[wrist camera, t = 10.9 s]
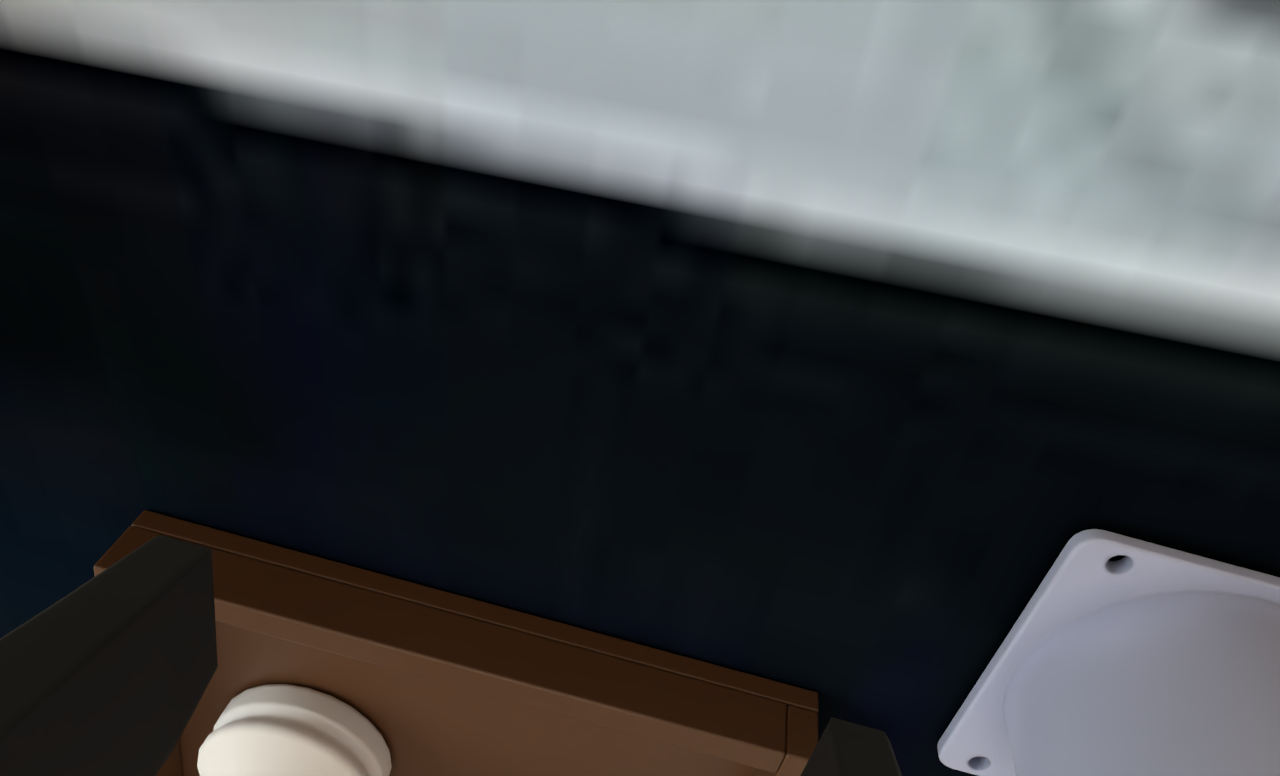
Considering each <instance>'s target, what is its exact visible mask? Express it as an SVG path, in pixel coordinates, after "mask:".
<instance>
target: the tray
mask: <svg viewBox="0 0 1280 776" xmlns="http://www.w3.org/2000/svg"><path fill="white" fill-rule="evenodd" d="M158 535H162V536H166V537H170V538H173V539H177V540H181V541H185V542H188V543H192V544H196V545H199V546H203V547H207V548H210V549H212V565H213V585H214V604H215V623H216V643H217V662H218V667H217V669H216V671H215V673H214V675H213V676H212V678H211V680H210V682H209V684H208V686H207V688H206V690H205V692H204V694H203V696H202V698H201V699H200V701H199V703H198V705H197V707H196V709H195V711H194V713H193V715H192V716H191V718H190V720H189V722H188V724H187V725H186V727H185V729H184V731H183V733H182V734H181V736H180V738H179V740H178V742H177V743H176V745H175V747H174V749H173V751H172V752H171V754H170V755H169V757H168V758H167V760H166V761H165V762H164V764H163V765H162V767H161V768H160V770H159V771H158V773H157V774H156V776H200V774H199V771H198V768H197V762H198V753H199V749H200V747H201V745H202V744H203V742H204V741H205V739H206V738H207V737H208V735H209V734H210V733H212V732H213V729H214V725H215V724H216V722H217V720H218V719H219V717H220V716H221V714H222V713H223V711H224V710H225V708H226V707H227V705H228V704H229V702H230V701H231V699H232V698H234V697H236V696H237V695H239V694H240V693H242V692H243V691H245V690H247V689H250V688H254V687H258V686H262V685H266V684H289V685H295V686H301V687H306V688H311V689H314V690H316V691H319V692H322V693H325V694H328V695H331V696H333V697H335V698H337V699H338V700H340V701H342V702H344V703H346V704H348V705H350V706H351V707H353V708H354V709H355V710H357V711H358V712H359V713H361V714H362V715H363V716H364V717H366V718H367V719H368V720H369V721H370V722H371V723H372V724H373V725H374V727H375V728H376V729H377V730H378V731H379V732H380V733H381V735H382V736H383V738H384V740H385V742H386V744H387V746H388V748H389V751H390V757H391V765H392V768H391V771H390V775H389V776H800V775H801V774H802V772H803V770H804V768H805V766H806V764H807V762H808V760H809V759H810V757H811V755H812V753H813V751H814V749H815V747H816V745H817V744H818V714H817V713H818V693H817V692H814V691H810V690H807V689H803V688H799V687H796V686H792V685H788V684H784V683H781V682H777V681H773V680H770V679H766V678H762V677H759V676H755V675H751V674H748V673H744V672H740V671H737V670H733V669H729V668H726V667H722V666H718V665H715V664H711V663H707V662H703V661H700V660H696V659H692V658H689V657H685V656H681V655H678V654H674V653H670V652H667V651H663V650H659V649H656V648H652V647H648V646H645V645H641V644H637V643H633V642H630V641H626V640H622V639H619V638H615V637H611V636H608V635H604V634H600V633H597V632H593V631H589V630H586V629H582V628H578V627H575V626H571V625H567V624H564V623H560V622H556V621H552V620H549V619H545V618H541V617H538V616H534V615H530V614H527V613H523V612H519V611H516V610H512V609H508V608H505V607H501V606H497V605H494V604H490V603H486V602H482V601H479V600H475V599H471V598H468V597H464V596H460V595H457V594H453V593H449V592H446V591H442V590H438V589H435V588H431V587H427V586H424V585H420V584H416V583H413V582H409V581H405V580H401V579H398V578H394V577H390V576H387V575H383V574H379V573H376V572H372V571H368V570H365V569H361V568H357V567H354V566H350V565H346V564H343V563H339V562H335V561H331V560H328V559H324V558H320V557H317V556H313V555H309V554H306V553H302V552H298V551H295V550H291V549H287V548H284V547H280V546H276V545H273V544H269V543H265V542H262V541H258V540H254V539H250V538H247V537H243V536H239V535H236V534H232V533H228V532H225V531H221V530H217V529H214V528H210V527H206V526H203V525H199V524H195V523H192V522H188V521H184V520H180V519H177V518H173V517H169V516H166V515H162V514H158V513H155V512H151V511H147V510H144V511H143V512H142V513H141V514H140V515H139V517H138V518H137V519H136V520H135V521H134V522H133V523H132V526H130V527H129V528H128V529H127V530H126V531H125V532H124V533H123V534H122V535H121V537H120V538H119V539H118V540H117V541H116V542H115V543H114V544H113V545H112V546H111V548H110V549H109V550H108V551H107V552H106V553H105V554H104V555H103V556H102V557H101V558H100V560H99V561H98V562H97V563H96V564H95V565H94V574H95V576H97V575H98V574H100V573H101V572H103V571H104V570H106V569H107V568H109V567H110V566H112V565H113V564H115V563H116V562H118V561H119V560H121V559H122V558H124V557H125V556H127V555H128V554H130V553H131V552H133V551H134V550H136V549H137V548H139V547H140V546H142V545H143V544H145V543H146V542H148V541H149V540H151V539H153V538H155V537H156V536H158Z"/></svg>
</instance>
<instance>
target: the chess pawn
mask: <svg viewBox="0 0 1280 776" xmlns="http://www.w3.org/2000/svg"><path fill="white" fill-rule="evenodd" d="M197 768H198V771H199V774H200V776H389V775H390V771H391V768H392V765H391V757H390V751H389V748H388V746H387V744H386V742H385V740H384V738H383V736H382V735H381V733H380V732H379V731H378V730H377V729H376V728H375V727H374V725H373V724H372V723H371V722H370V721H369V720H368V719H367V718H366V717H364V716H363V715H362V714H361V713H359V712H358V711H357V710H355V709H354V708H353V707H351V706H350V705H348V704H346V703H344V702H342V701H340V700H338V699H337V698H335V697H333V696H331V695H328V694H325V693H322V692H319V691H316V690H314V689H311V688H306V687H301V686H295V685H289V684H266V685H262V686H258V687H254V688H250V689H247V690H245V691H243V692H242V693H240V694H239V695H237V696H236V697H234V698H232V699H231V701H230V702H229V704H228V705H227V707H226V708H225V710H224V711H223V713H222V714H221V716H220V717H219V719H218V720H217V722H216V724H215V725H214V729H213V732H212V733H210V734H209V735H208V737H207V738H206V739H205V741H204V742H203V744H202V745H201V747H200V749H199V753H198V762H197Z"/></svg>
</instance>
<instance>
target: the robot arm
mask: <svg viewBox="0 0 1280 776" xmlns="http://www.w3.org/2000/svg"><path fill="white" fill-rule="evenodd" d="M1117 555H1125V557H1124V558H1122V559H1121V560H1117V561H1108V560H1109V559H1110V558H1111V557H1114V556H1117ZM217 667H218V662H217V643H216V623H215V604H214V585H213V565H212V549H210V548H207V547H203V546H199V545H196V544H192V543H188V542H185V541H181V540H177V539H173V538H170V537H166V536H162V535H158V536H156V537H155V538H153V539H151V540H149V541H148V542H146V543H145V544H143V545H142V546H140V547H139V548H137V549H136V550H134V551H133V552H131V553H130V554H128V555H127V556H125V557H124V558H122V559H121V560H119V561H118V562H116V563H115V564H113V565H112V566H110V567H109V568H107V569H106V570H104V571H103V572H101V573H100V574H98V575H97V576H95V577H94V578H92V579H91V580H89V581H88V582H86V583H85V584H83V585H82V586H80V587H79V588H77V589H76V590H74V591H73V592H71V593H70V594H68V595H67V596H65V597H64V598H62V599H61V600H59V601H58V602H56V603H55V604H53V605H52V606H50V607H48V608H47V609H45V610H44V611H42V612H41V613H39V614H38V615H36V616H35V617H33V618H32V619H30V620H29V621H27V622H26V623H24V624H22V625H21V626H19V627H18V628H16V629H14V630H13V631H11V632H10V633H8V634H7V635H5V636H3V637H2V638H0V776H156V774H157V773H158V771H159V770H160V768H161V767H162V765H163V764H164V762H165V761H166V760H167V758H168V757H169V755H170V754H171V752H172V751H173V749H174V747H175V745H176V743H177V742H178V740H179V738H180V736H181V734H182V733H183V731H184V729H185V727H186V725H187V724H188V722H189V720H190V718H191V716H192V715H193V713H194V711H195V709H196V707H197V705H198V703H199V701H200V699H201V698H202V696H203V694H204V692H205V690H206V688H207V686H208V684H209V682H210V680H211V678H212V676H213V675H214V673H215V671H216V669H217ZM937 748H938V755H939V759H940V761H941V762H942V763H943V764H944V765H945V766H947V767H950V768H952V769H956V770H959V771H963V772H967V773H970V774H974V775H978V776H1280V577H1276V576H1272V575H1269V574H1265V573H1261V572H1258V571H1254V570H1250V569H1246V568H1243V567H1239V566H1235V565H1232V564H1228V563H1224V562H1220V561H1217V560H1213V559H1209V558H1206V557H1202V556H1198V555H1195V554H1191V553H1187V552H1183V551H1180V550H1176V549H1172V548H1169V547H1165V546H1161V545H1157V544H1154V543H1150V542H1146V541H1143V540H1139V539H1135V538H1132V537H1128V536H1124V535H1120V534H1117V533H1113V532H1109V531H1106V530H1100V529H1089V530H1083V531H1081V532H1079V533H1077V534H1075V535H1074V536H1073V537H1072V538H1071V539H1070V540H1069V541H1068V542H1067V544H1066V545H1065V547H1064V549H1063V550H1062V552H1061V553H1060V555H1059V556H1058V558H1057V559H1056V561H1055V562H1054V564H1053V566H1052V567H1051V569H1050V570H1049V572H1048V573H1047V575H1046V576H1045V578H1044V579H1043V581H1042V582H1041V584H1040V586H1039V587H1038V589H1037V590H1036V592H1035V593H1034V595H1033V596H1032V598H1031V599H1030V601H1029V602H1028V604H1027V606H1026V607H1025V609H1024V610H1023V612H1022V613H1021V615H1020V616H1019V618H1018V619H1017V621H1016V623H1015V624H1014V626H1013V627H1012V629H1011V630H1010V632H1009V633H1008V635H1007V636H1006V638H1005V639H1004V641H1003V643H1002V644H1001V646H1000V647H999V649H998V650H997V652H996V653H995V655H994V656H993V658H992V660H991V661H990V663H989V664H988V666H987V667H986V669H985V670H984V672H983V673H982V675H981V676H980V678H979V680H978V681H977V683H976V684H975V686H974V687H973V689H972V690H971V692H970V693H969V695H968V696H967V698H966V700H965V701H964V703H963V704H962V706H961V707H960V709H959V710H958V712H957V713H956V715H955V717H954V718H953V720H952V721H951V723H950V724H949V726H948V727H947V729H946V730H945V732H944V733H943V735H942V737H941V738H940V740H939V742H938V745H937ZM978 756H979V757H978ZM800 776H902V775H901V772H900V769H899V766H898V763H897V761H896V758H895V755H894V752H893V749H892V746H891V743H890V740H889V739H888V737H887V735H886V734H885V732H884V731H880V730H877V729H873V728H869V727H865V726H862V725H858V724H854V723H851V722H847V721H843V720H840V719H836V718H832V717H831V719H830V721H829V723H828V725H827V727H826V728H825V730H824V732H823V734H822V736H821V738H820V740H819V742H818V744H817V745H816V747H815V749H814V751H813V753H812V755H811V757H810V759H809V760H808V762H807V764H806V766H805V768H804V770H803V772H802V774H801V775H800Z"/></svg>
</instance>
